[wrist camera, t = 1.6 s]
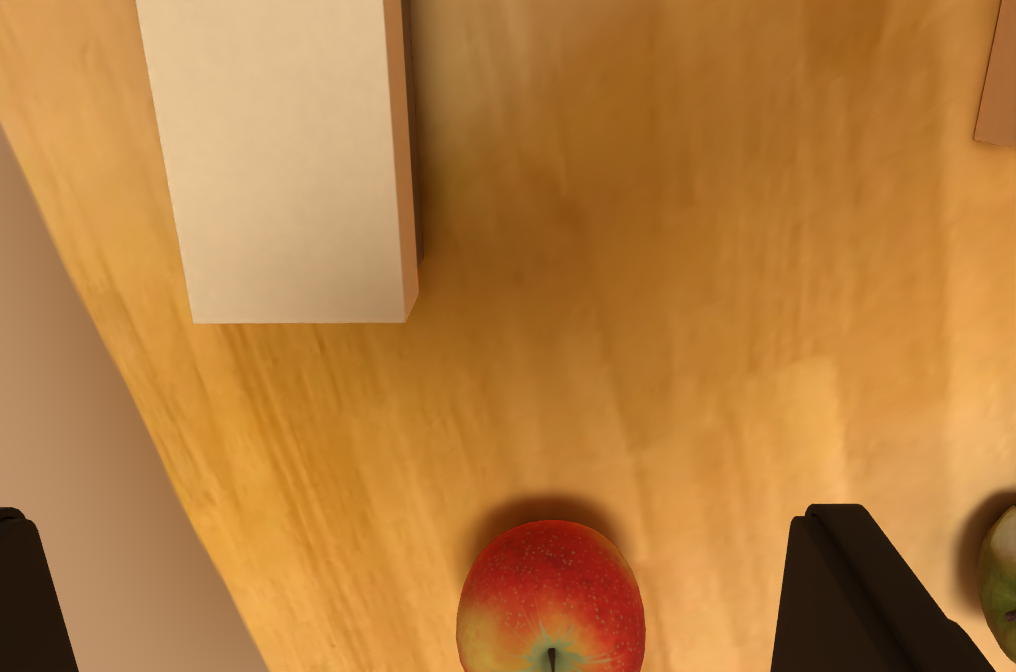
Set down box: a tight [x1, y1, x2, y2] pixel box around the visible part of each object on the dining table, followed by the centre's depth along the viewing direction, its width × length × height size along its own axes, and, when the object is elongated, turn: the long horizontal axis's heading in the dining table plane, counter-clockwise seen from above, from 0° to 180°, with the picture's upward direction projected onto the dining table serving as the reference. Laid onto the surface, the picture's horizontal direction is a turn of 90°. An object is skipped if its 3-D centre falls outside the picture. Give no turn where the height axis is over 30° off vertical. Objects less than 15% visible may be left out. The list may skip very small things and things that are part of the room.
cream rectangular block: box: [135, 0, 419, 324], centre depth 23 cm, size 12×7×3 cm, turn 1°
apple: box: [456, 520, 646, 672], centre depth 32 cm, size 8×8×10 cm
